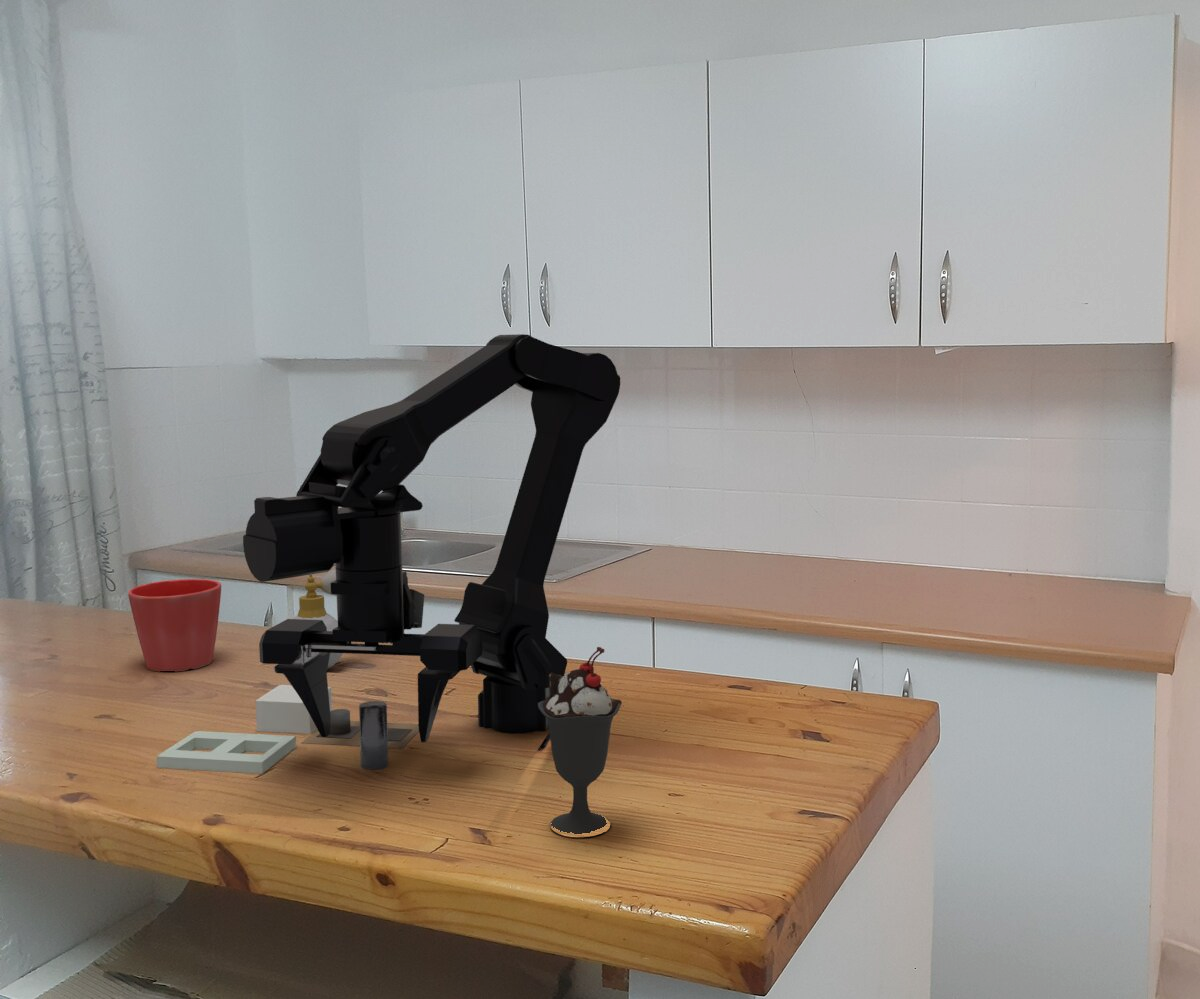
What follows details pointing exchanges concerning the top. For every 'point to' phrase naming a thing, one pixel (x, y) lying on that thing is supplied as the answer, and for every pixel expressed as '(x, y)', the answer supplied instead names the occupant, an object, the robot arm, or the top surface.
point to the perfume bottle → (319, 607)
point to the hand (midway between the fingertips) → (374, 738)
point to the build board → (227, 752)
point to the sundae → (579, 738)
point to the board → (349, 732)
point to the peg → (373, 735)
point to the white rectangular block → (284, 712)
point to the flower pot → (176, 622)
